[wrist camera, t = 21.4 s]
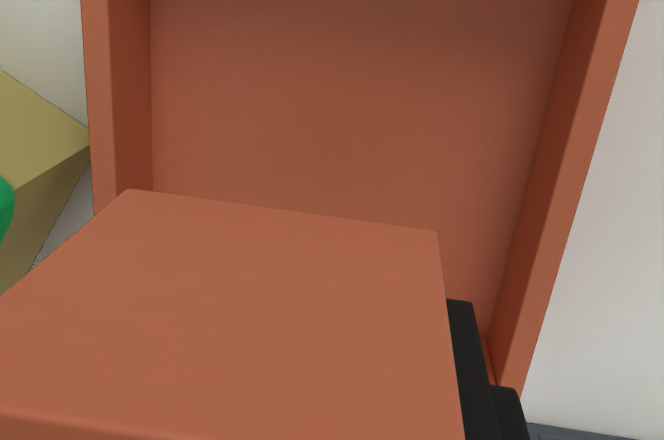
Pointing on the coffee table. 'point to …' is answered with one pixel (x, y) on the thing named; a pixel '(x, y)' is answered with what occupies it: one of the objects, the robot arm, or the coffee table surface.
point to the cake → (33, 173)
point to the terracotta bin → (370, 124)
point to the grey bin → (564, 434)
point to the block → (229, 329)
